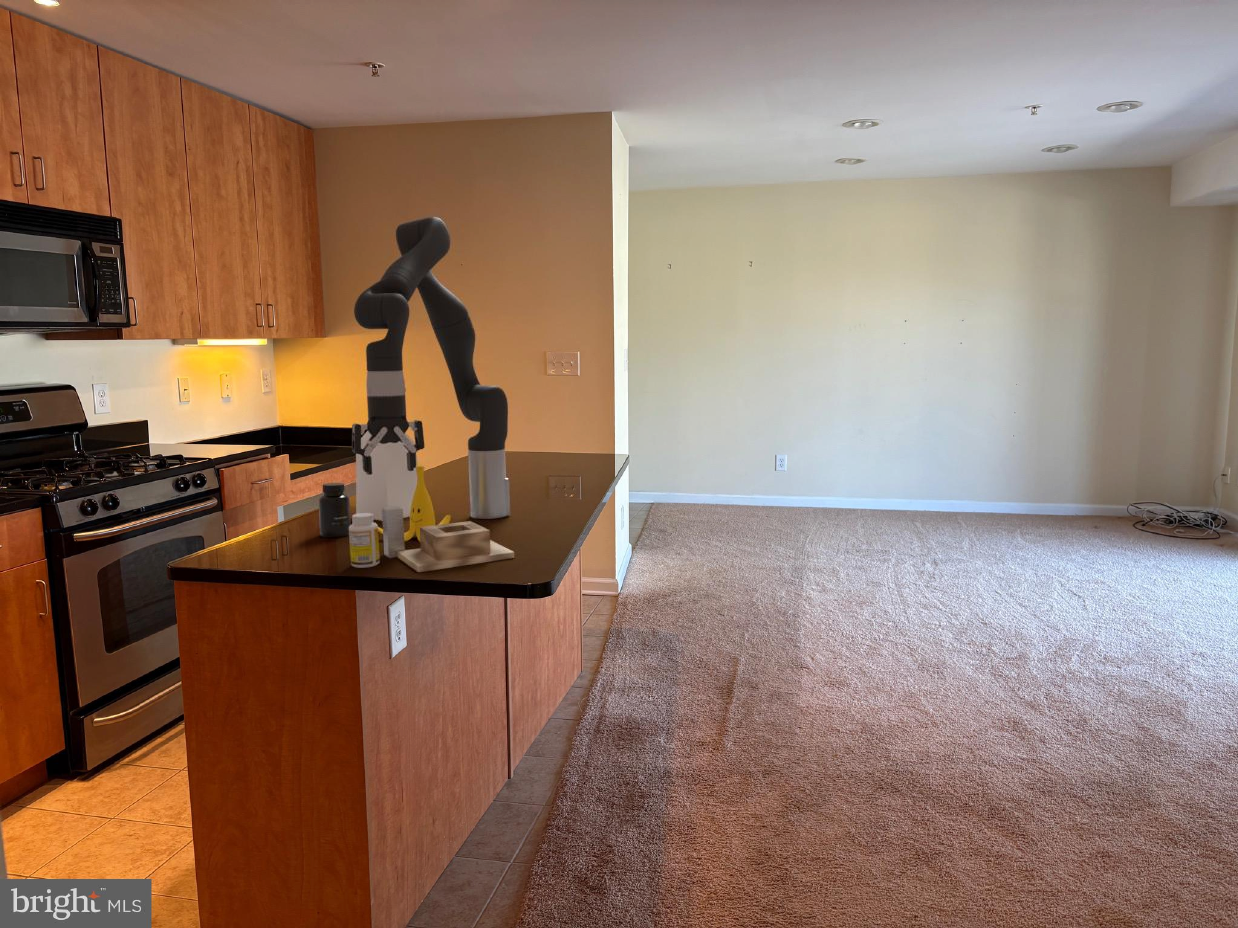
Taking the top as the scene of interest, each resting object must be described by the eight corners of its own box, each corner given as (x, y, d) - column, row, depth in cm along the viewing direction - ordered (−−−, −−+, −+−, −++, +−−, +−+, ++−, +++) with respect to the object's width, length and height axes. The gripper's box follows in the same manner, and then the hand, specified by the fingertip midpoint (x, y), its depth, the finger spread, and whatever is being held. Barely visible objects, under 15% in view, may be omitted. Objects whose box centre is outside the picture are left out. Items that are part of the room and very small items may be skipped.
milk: (422, 513, 217) (417, 414, 213) (388, 521, 207) (383, 417, 204) (390, 509, 223) (385, 412, 220) (356, 516, 214) (350, 416, 210)
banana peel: (444, 547, 180) (441, 471, 178) (372, 541, 187) (368, 467, 185) (483, 531, 195) (481, 461, 193) (415, 526, 202) (412, 458, 200)
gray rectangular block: (400, 552, 175) (398, 505, 174) (405, 555, 172) (402, 508, 171) (384, 554, 174) (381, 507, 172) (388, 558, 171) (386, 510, 169)
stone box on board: (488, 544, 182) (487, 517, 181) (514, 557, 170) (513, 528, 169) (397, 557, 171) (396, 528, 171) (418, 572, 159) (417, 541, 159)
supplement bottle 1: (341, 538, 189) (338, 486, 187) (314, 537, 190) (311, 486, 189) (356, 532, 196) (354, 481, 194) (330, 531, 197) (327, 481, 195)
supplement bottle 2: (369, 559, 169) (366, 510, 168) (385, 564, 166) (382, 514, 164) (345, 565, 165) (342, 515, 164) (361, 570, 162) (358, 518, 160)
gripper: (415, 391, 175) (418, 467, 177) (345, 394, 168) (350, 473, 170) (426, 393, 169) (429, 471, 171) (354, 395, 162) (359, 477, 164)
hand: (390, 472), depth 171 cm, fingers open, 8 cm apart
